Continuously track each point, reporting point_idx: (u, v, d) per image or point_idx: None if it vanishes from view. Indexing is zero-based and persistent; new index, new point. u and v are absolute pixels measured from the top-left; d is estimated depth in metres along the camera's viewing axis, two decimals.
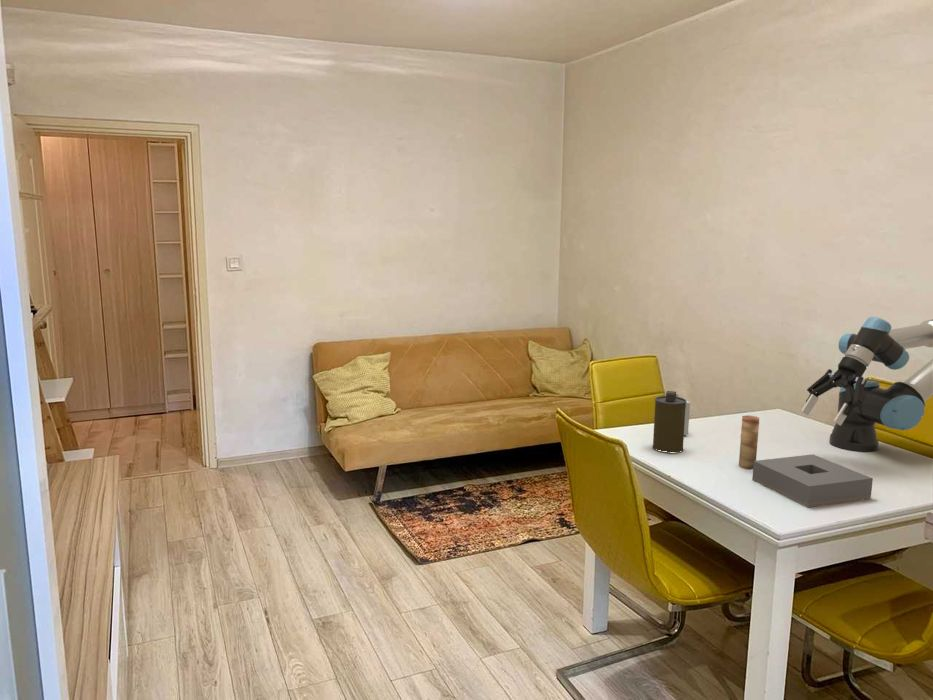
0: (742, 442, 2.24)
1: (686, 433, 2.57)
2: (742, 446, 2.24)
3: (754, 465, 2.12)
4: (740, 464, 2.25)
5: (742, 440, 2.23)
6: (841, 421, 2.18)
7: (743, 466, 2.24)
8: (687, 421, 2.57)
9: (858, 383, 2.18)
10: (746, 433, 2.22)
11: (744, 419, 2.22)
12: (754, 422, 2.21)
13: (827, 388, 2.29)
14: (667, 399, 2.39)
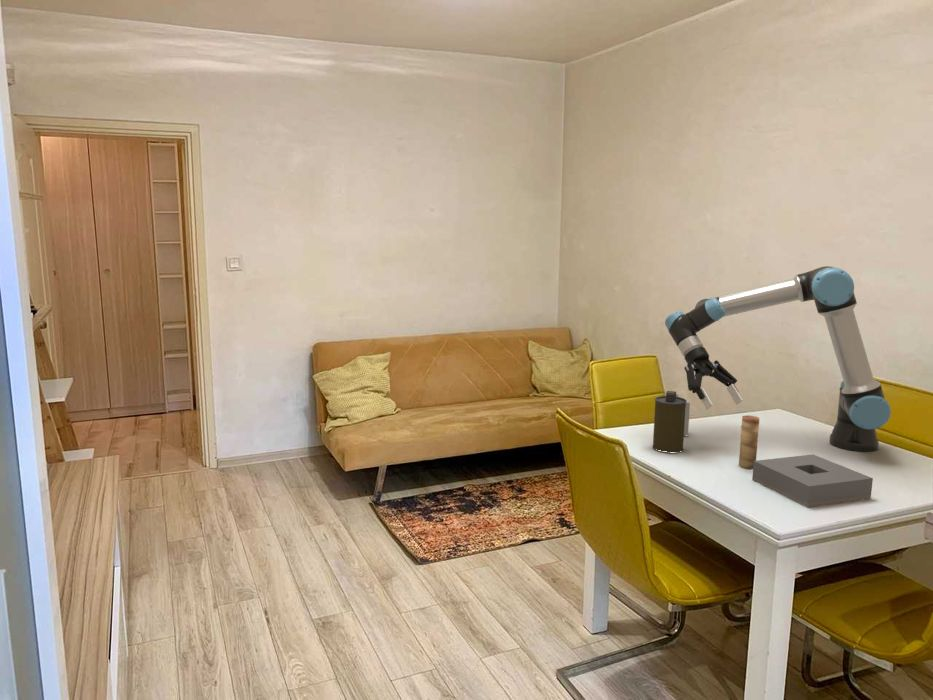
0: (742, 442, 2.24)
1: (686, 433, 2.57)
2: (742, 446, 2.24)
3: (754, 465, 2.12)
4: (740, 464, 2.25)
5: (742, 440, 2.23)
6: (708, 402, 2.29)
7: (743, 466, 2.24)
8: (687, 421, 2.57)
9: None
10: (746, 433, 2.22)
11: (744, 419, 2.22)
12: (754, 422, 2.21)
13: (719, 377, 2.39)
14: (667, 399, 2.39)
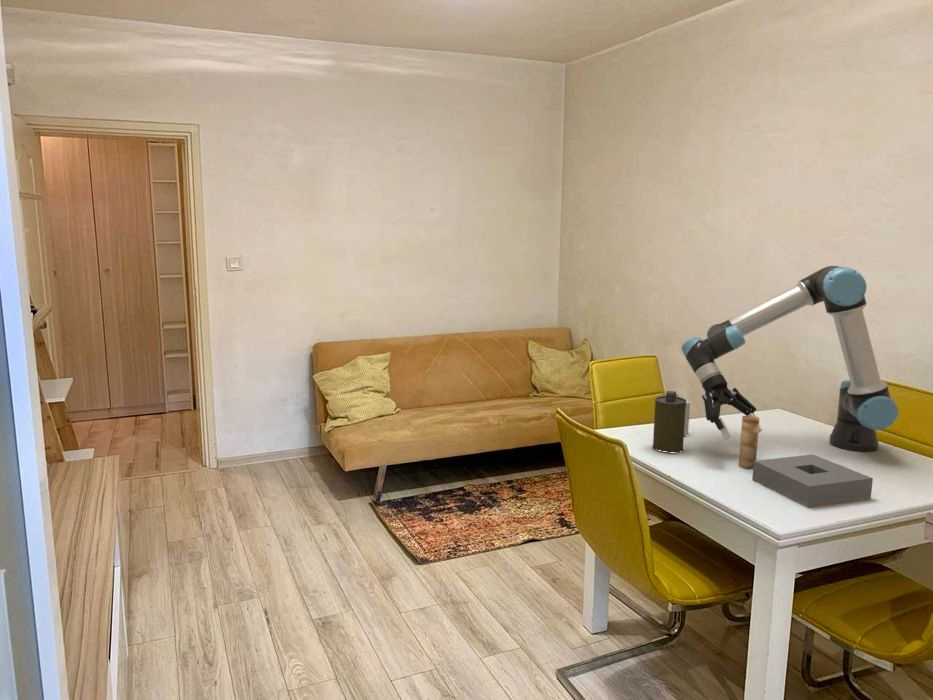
0: (742, 442, 2.23)
1: (686, 433, 2.57)
2: (742, 446, 2.24)
3: (754, 465, 2.12)
4: (740, 464, 2.25)
5: (742, 440, 2.23)
6: (727, 433, 2.22)
7: (743, 466, 2.24)
8: (687, 421, 2.57)
9: None
10: (746, 433, 2.22)
11: (744, 419, 2.22)
12: (754, 422, 2.21)
13: (738, 405, 2.32)
14: (667, 399, 2.39)
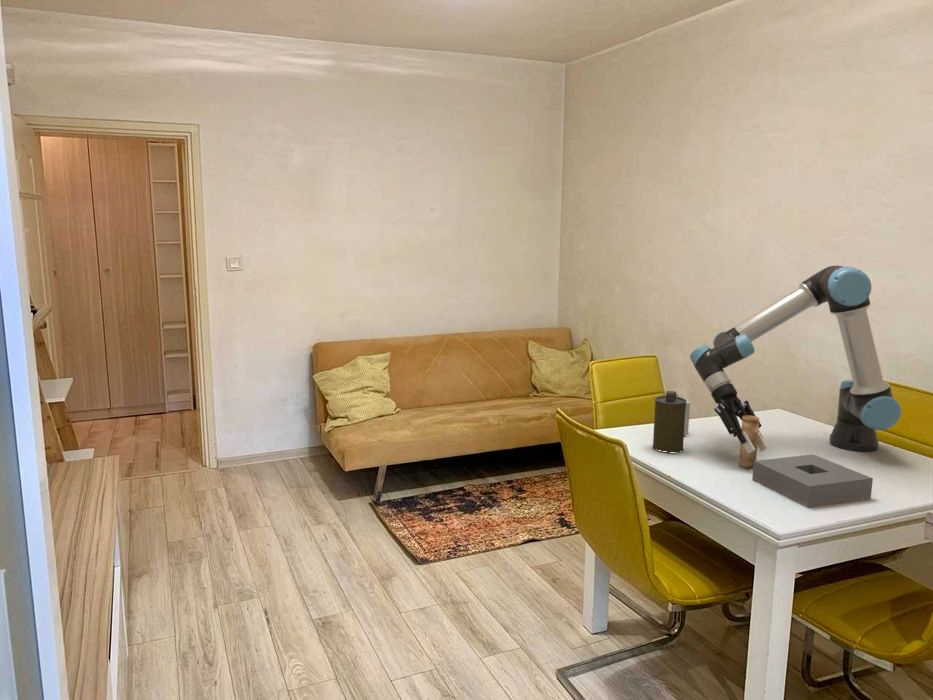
0: None
1: (686, 433, 2.57)
2: (742, 446, 2.24)
3: (754, 465, 2.12)
4: (740, 464, 2.25)
5: None
6: (750, 447, 2.20)
7: (743, 466, 2.24)
8: (687, 421, 2.57)
9: None
10: (746, 433, 2.22)
11: (744, 419, 2.22)
12: (754, 422, 2.21)
13: None
14: (667, 399, 2.39)
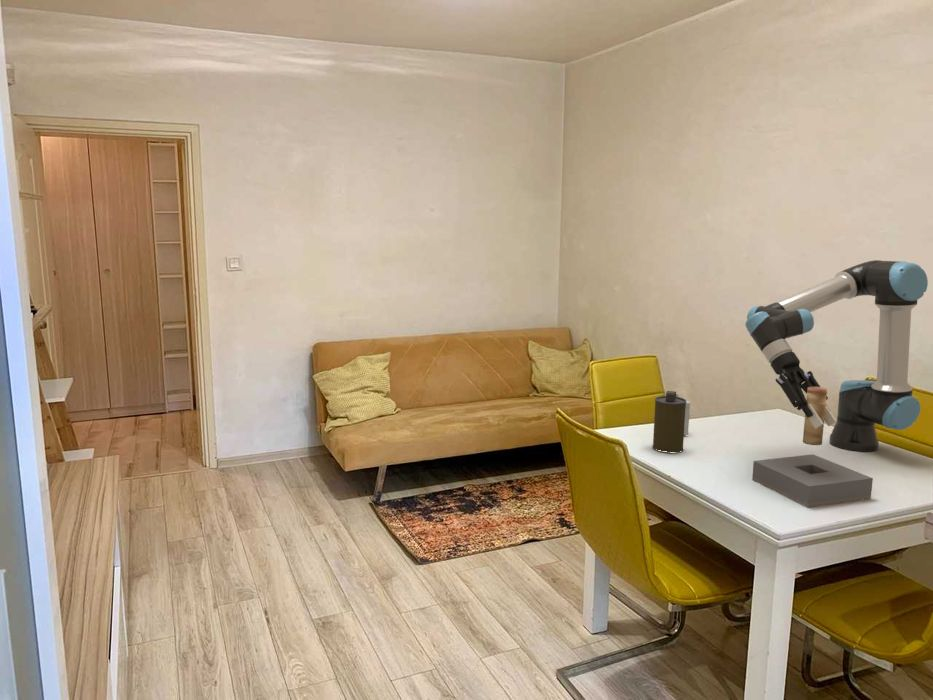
0: None
1: (686, 433, 2.57)
2: (807, 420, 2.02)
3: (754, 465, 2.12)
4: (805, 440, 2.03)
5: None
6: (817, 421, 1.98)
7: (808, 442, 2.02)
8: (687, 421, 2.57)
9: None
10: (812, 405, 2.00)
11: (810, 390, 2.01)
12: (822, 393, 1.99)
13: None
14: (667, 399, 2.39)
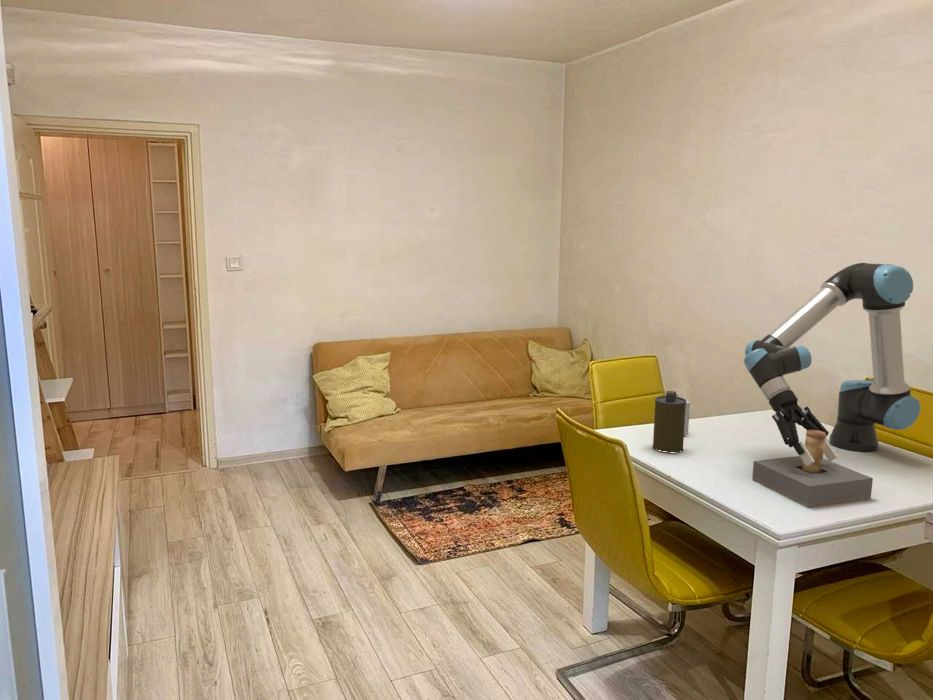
0: None
1: (686, 433, 2.57)
2: None
3: (754, 465, 2.12)
4: None
5: None
6: (809, 459, 1.99)
7: None
8: (687, 421, 2.57)
9: None
10: (811, 449, 2.02)
11: (809, 434, 2.03)
12: (820, 437, 2.01)
13: (808, 426, 2.09)
14: (667, 399, 2.39)
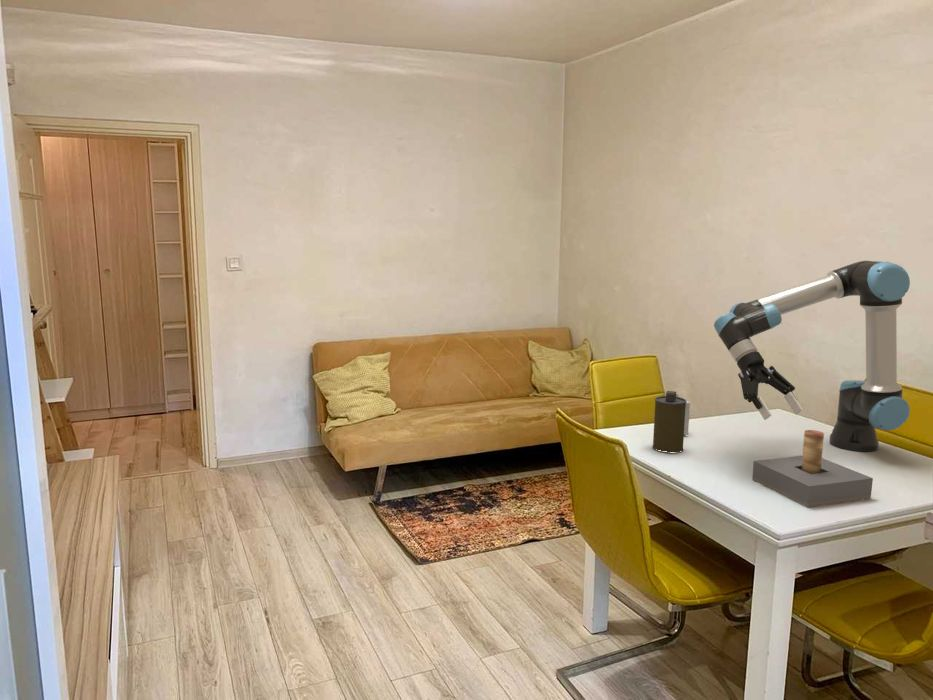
0: (805, 459, 2.04)
1: (686, 433, 2.57)
2: (805, 464, 2.04)
3: (754, 465, 2.12)
4: None
5: (805, 457, 2.04)
6: (766, 413, 2.09)
7: None
8: (687, 421, 2.57)
9: None
10: (809, 449, 2.02)
11: (807, 434, 2.03)
12: (818, 438, 2.01)
13: (775, 384, 2.19)
14: (667, 399, 2.39)
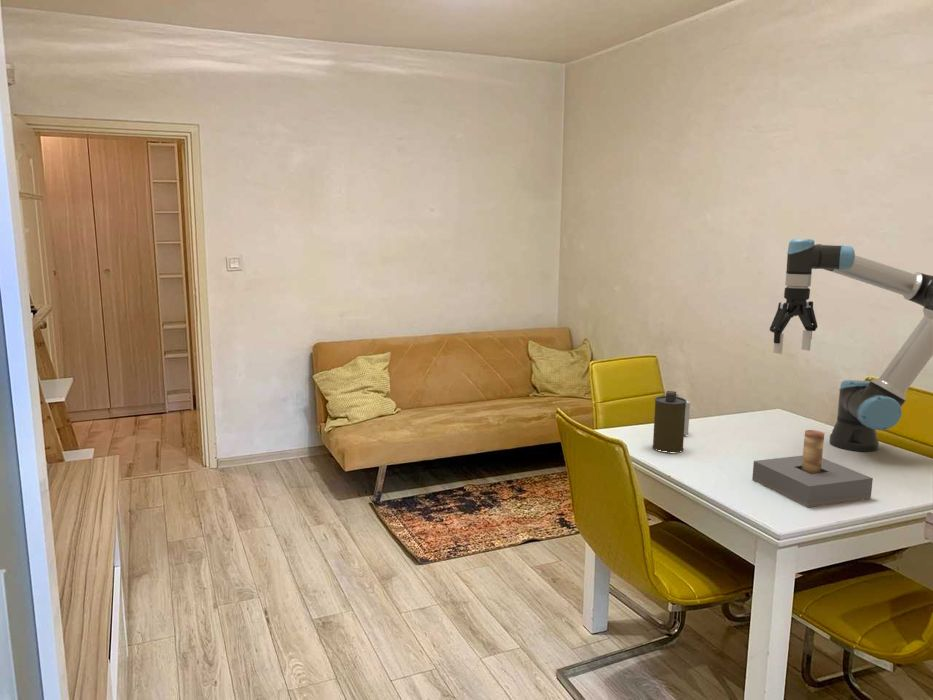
0: (805, 459, 2.04)
1: (686, 433, 2.57)
2: (805, 464, 2.04)
3: (754, 465, 2.12)
4: None
5: (805, 457, 2.04)
6: (778, 350, 2.29)
7: None
8: (687, 421, 2.57)
9: None
10: (810, 449, 2.02)
11: (807, 434, 2.03)
12: (819, 438, 2.01)
13: (804, 320, 2.33)
14: (667, 399, 2.39)
